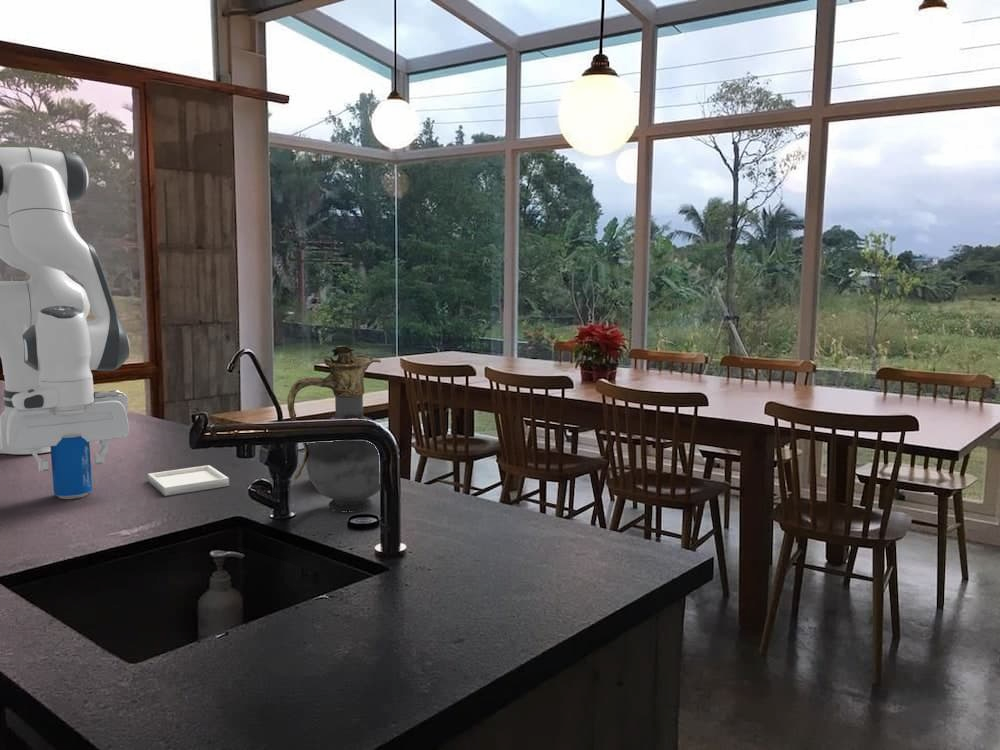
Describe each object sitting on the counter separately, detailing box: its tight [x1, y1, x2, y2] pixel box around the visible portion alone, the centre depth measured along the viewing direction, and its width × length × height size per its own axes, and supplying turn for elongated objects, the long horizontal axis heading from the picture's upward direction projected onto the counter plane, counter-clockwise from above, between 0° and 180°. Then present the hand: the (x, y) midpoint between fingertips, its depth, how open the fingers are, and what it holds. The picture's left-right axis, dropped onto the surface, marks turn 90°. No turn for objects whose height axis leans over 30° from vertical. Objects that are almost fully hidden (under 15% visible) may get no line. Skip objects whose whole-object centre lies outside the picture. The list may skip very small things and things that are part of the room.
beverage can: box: [50, 434, 93, 500], centre depth 153 cm, size 6×6×12 cm
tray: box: [147, 464, 230, 497], centre depth 162 cm, size 12×12×2 cm
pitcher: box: [287, 345, 381, 513], centre depth 146 cm, size 11×19×30 cm, turn 121°
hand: (72, 466), depth 152 cm, fingers open, 8 cm apart
